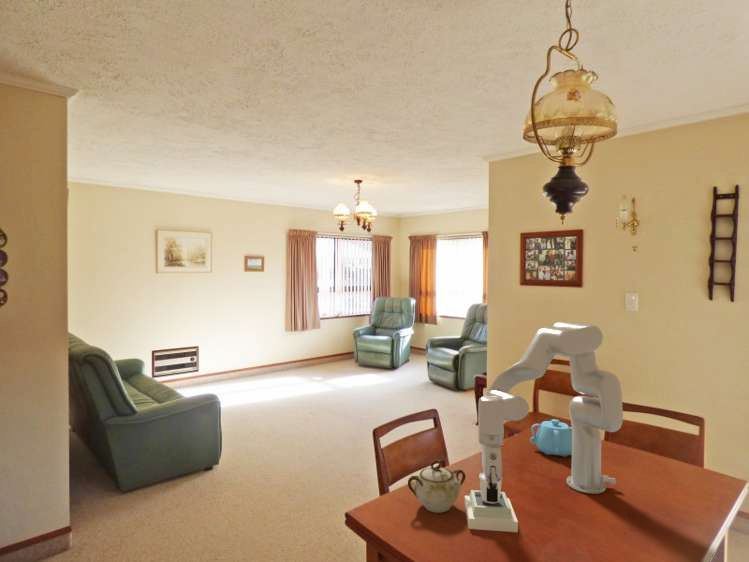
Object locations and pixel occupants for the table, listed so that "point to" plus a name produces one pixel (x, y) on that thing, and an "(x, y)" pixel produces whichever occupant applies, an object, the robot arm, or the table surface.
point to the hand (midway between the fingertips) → (490, 495)
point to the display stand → (490, 513)
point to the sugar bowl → (437, 487)
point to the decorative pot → (553, 438)
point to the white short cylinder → (485, 485)
